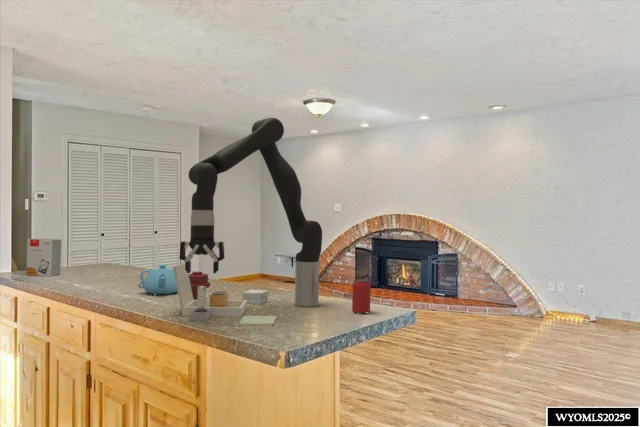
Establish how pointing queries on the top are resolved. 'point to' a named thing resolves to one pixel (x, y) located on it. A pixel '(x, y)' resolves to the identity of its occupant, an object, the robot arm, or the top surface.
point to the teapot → (159, 280)
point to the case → (190, 305)
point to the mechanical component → (198, 282)
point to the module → (219, 299)
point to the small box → (255, 296)
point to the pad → (258, 320)
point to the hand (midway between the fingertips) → (202, 273)
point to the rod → (201, 298)
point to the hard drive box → (43, 257)
